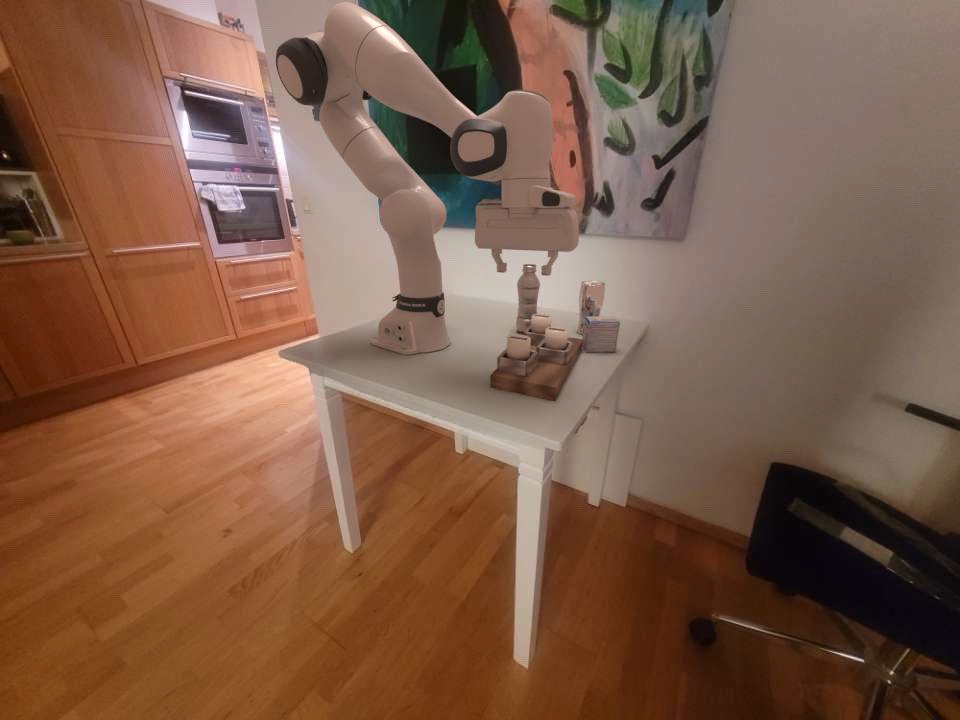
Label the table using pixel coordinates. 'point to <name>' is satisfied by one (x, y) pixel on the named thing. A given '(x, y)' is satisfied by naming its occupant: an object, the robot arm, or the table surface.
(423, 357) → the table surface
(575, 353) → the knob mount
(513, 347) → the knob
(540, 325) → the knob
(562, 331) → the knob
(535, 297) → the plastic bottle
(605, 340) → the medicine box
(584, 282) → the beer glass
